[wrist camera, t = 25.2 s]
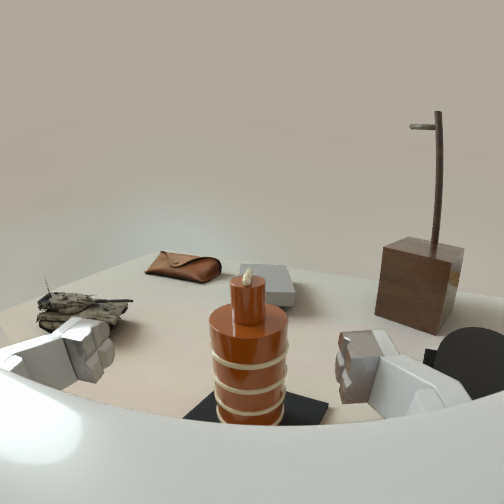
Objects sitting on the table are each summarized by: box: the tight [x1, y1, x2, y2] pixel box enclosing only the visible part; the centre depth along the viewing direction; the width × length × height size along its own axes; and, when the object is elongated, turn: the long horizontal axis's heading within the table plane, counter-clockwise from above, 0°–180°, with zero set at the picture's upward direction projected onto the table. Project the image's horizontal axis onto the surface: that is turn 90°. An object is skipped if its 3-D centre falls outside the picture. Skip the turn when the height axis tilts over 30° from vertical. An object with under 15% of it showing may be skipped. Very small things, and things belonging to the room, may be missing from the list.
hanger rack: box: [375, 111, 464, 335], centre depth 42 cm, size 12×12×36 cm
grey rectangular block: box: [239, 264, 295, 307], centre depth 57 cm, size 10×4×15 cm
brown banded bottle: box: [209, 268, 289, 426], centre depth 24 cm, size 6×6×16 cm
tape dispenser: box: [423, 327, 504, 400], centre depth 22 cm, size 14×18×8 cm
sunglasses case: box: [145, 251, 222, 282], centre depth 70 cm, size 18×7×7 cm
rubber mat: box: [182, 391, 329, 426], centre depth 26 cm, size 12×12×1 cm
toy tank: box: [36, 292, 133, 334], centre depth 42 cm, size 8×18×10 cm, turn 96°
